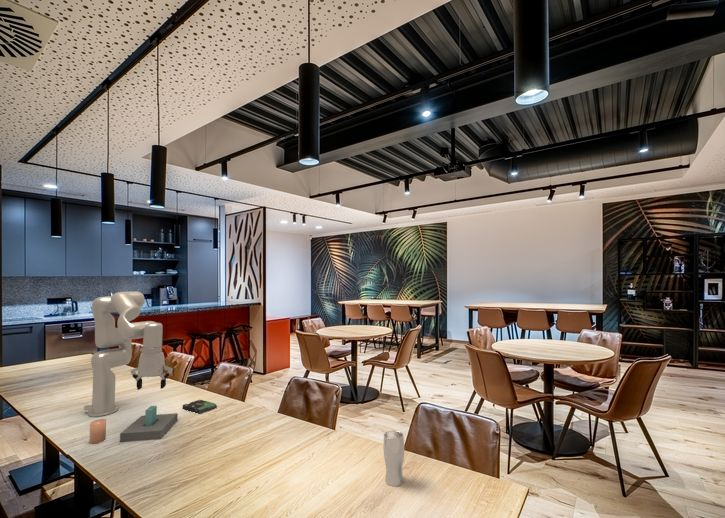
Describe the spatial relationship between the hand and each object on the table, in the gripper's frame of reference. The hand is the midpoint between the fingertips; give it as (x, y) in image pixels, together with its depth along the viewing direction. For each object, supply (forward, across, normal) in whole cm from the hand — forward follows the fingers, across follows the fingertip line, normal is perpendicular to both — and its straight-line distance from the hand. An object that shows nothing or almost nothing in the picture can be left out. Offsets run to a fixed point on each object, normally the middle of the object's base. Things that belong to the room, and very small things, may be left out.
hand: (151, 388), depth 161 cm
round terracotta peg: (+19, -17, -8) cm, 27 cm away
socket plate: (+19, 0, 0) cm, 19 cm away
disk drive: (+20, +14, +25) cm, 35 cm away
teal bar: (+19, 0, 0) cm, 19 cm away
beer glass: (+17, +98, -60) cm, 116 cm away
